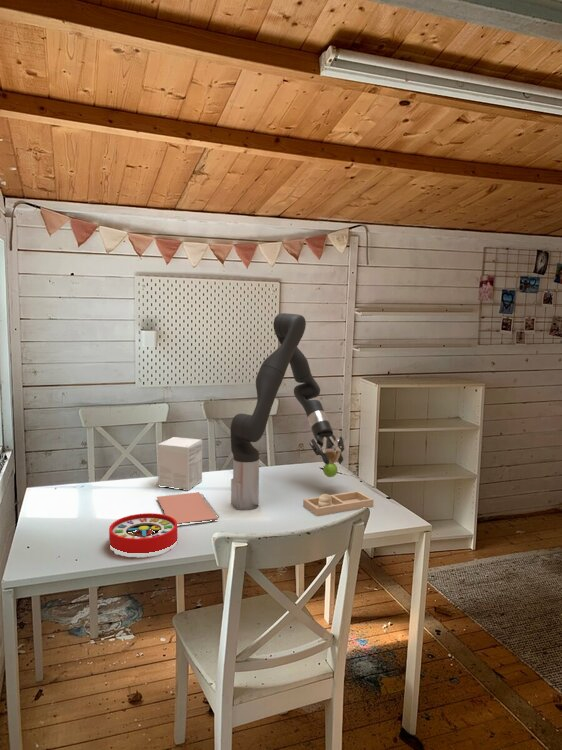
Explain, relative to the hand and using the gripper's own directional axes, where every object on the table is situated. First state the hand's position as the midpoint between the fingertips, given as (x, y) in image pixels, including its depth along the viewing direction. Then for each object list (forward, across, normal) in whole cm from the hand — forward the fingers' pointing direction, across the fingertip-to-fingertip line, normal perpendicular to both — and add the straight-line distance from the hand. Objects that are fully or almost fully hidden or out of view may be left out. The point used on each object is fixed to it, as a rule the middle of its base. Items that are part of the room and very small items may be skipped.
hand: (334, 462), depth 213 cm
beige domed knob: (+17, -10, +1) cm, 20 cm away
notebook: (+4, -54, +17) cm, 57 cm away
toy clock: (+19, -74, +2) cm, 76 cm away
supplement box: (-16, -48, +36) cm, 63 cm away
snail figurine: (+3, 0, +6) cm, 7 cm away
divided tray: (+18, -5, +2) cm, 18 cm away
